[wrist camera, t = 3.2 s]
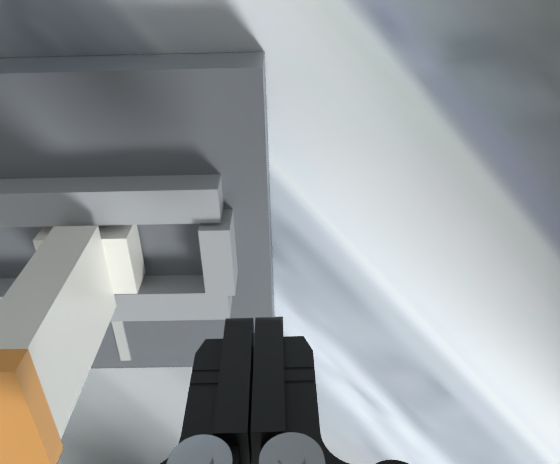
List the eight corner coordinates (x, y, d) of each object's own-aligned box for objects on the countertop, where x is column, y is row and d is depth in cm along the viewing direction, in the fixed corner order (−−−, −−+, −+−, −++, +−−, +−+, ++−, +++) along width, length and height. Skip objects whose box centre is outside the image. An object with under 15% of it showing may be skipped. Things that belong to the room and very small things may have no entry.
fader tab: (132, 202, 18) (47, 371, 11) (148, 285, 20) (82, 471, 13) (43, 204, 18) (-94, 373, 11) (66, 286, 20) (-40, 473, 13)
